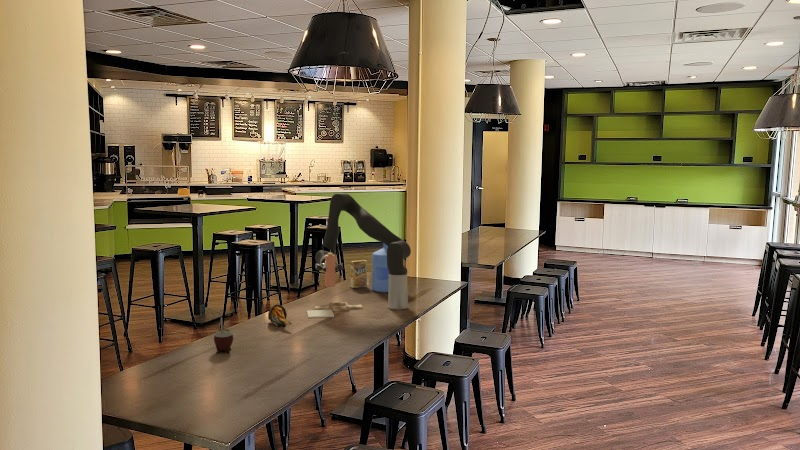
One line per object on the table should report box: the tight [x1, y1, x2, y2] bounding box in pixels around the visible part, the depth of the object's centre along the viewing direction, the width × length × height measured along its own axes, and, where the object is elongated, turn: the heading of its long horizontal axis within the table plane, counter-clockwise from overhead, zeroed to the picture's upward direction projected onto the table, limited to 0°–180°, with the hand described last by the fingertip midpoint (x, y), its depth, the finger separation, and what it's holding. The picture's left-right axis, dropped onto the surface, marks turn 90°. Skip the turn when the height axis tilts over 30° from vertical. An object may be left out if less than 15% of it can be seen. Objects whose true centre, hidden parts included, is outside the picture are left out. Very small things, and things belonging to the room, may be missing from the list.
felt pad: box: [306, 309, 335, 319], centre depth 298 cm, size 12×12×1 cm
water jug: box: [371, 243, 389, 294], centre depth 353 cm, size 16×16×28 cm
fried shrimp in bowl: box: [267, 303, 293, 327], centre depth 278 cm, size 9×11×18 cm
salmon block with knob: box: [324, 253, 336, 288], centre depth 303 cm, size 4×4×16 cm
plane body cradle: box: [314, 301, 364, 312], centre depth 310 cm, size 23×9×2 cm, turn 102°
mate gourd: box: [213, 316, 234, 354], centre depth 239 cm, size 8×8×15 cm
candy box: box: [349, 259, 368, 289], centre depth 360 cm, size 9×4×15 cm, turn 118°
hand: (330, 269), depth 300 cm, fingers closed on salmon block with knob, 4 cm apart
